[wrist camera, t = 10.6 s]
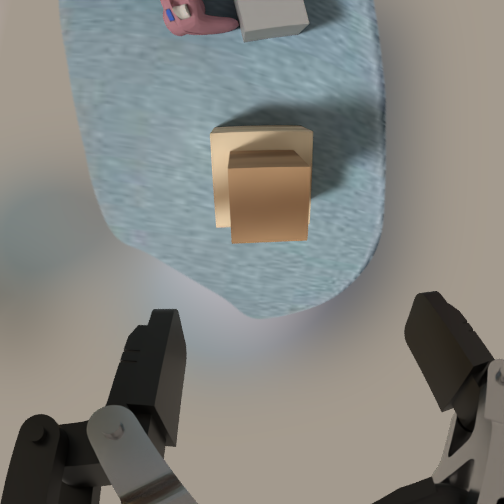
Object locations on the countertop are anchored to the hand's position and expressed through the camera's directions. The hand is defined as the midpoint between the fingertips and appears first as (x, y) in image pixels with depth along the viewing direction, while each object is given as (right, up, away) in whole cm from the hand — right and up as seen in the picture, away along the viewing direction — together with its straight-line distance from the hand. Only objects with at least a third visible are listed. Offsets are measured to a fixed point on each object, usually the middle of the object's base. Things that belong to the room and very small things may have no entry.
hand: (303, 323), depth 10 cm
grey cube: (0, +24, +12) cm, 27 cm away
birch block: (-1, +10, +19) cm, 22 cm away
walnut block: (-1, +8, +15) cm, 17 cm away
